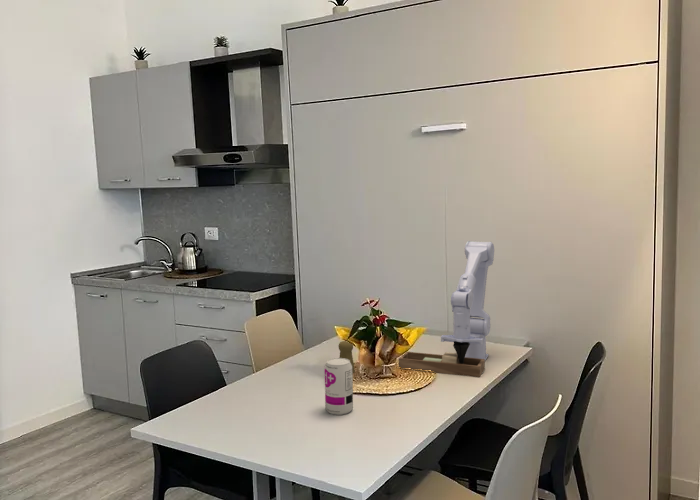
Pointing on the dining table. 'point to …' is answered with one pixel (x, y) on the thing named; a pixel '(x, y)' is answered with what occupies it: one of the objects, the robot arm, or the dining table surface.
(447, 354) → the maple block
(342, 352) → the olive pepper mill
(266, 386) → the dining table surface
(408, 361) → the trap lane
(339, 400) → the supplement can
